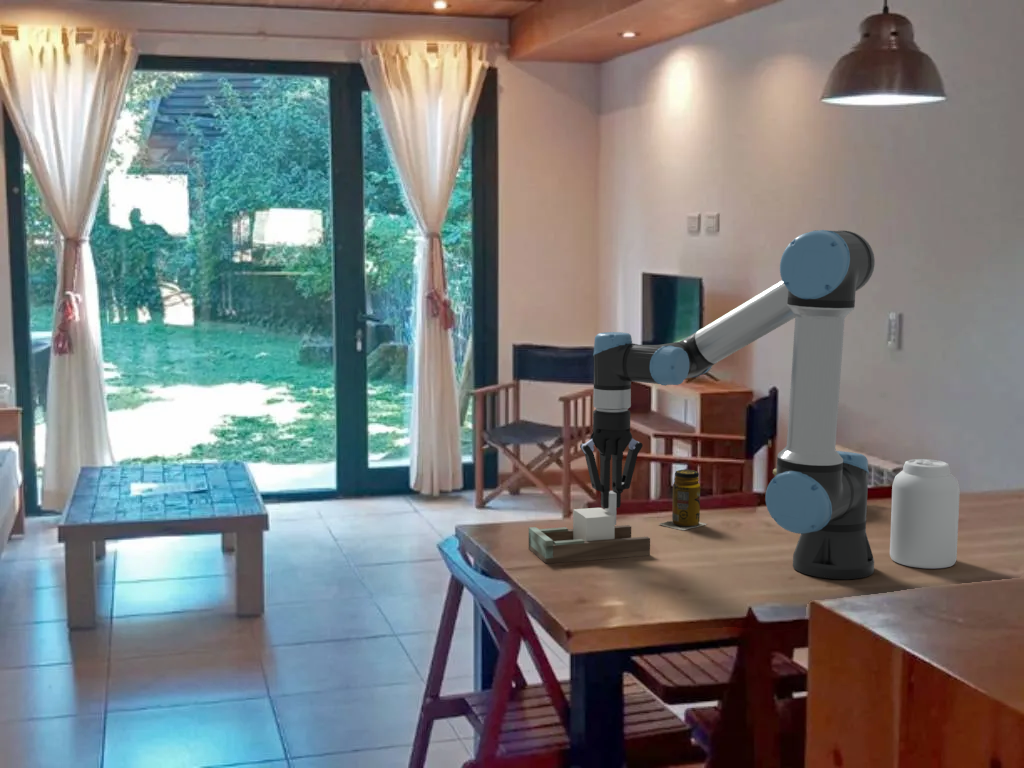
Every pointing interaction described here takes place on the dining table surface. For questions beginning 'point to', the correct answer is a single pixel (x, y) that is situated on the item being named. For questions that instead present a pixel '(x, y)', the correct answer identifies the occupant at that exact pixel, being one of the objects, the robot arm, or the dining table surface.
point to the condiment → (685, 501)
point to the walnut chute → (584, 545)
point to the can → (924, 515)
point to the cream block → (593, 524)
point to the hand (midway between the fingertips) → (610, 523)
